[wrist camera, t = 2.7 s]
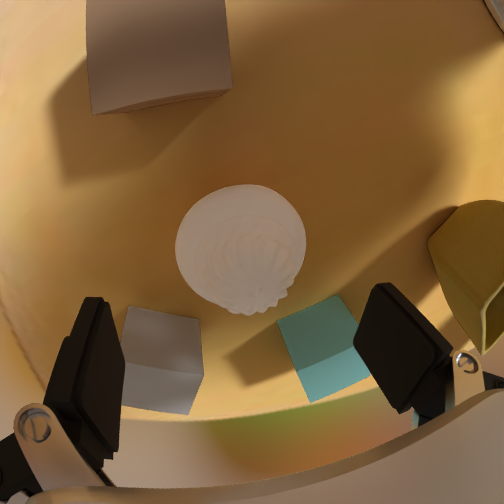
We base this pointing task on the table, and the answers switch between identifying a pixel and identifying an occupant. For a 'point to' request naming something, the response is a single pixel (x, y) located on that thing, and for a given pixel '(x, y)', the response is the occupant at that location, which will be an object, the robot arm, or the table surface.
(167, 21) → the walnut cube
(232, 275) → the muffin
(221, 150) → the table surface
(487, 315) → the flower pot
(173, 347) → the grey cube
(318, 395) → the teal cube
